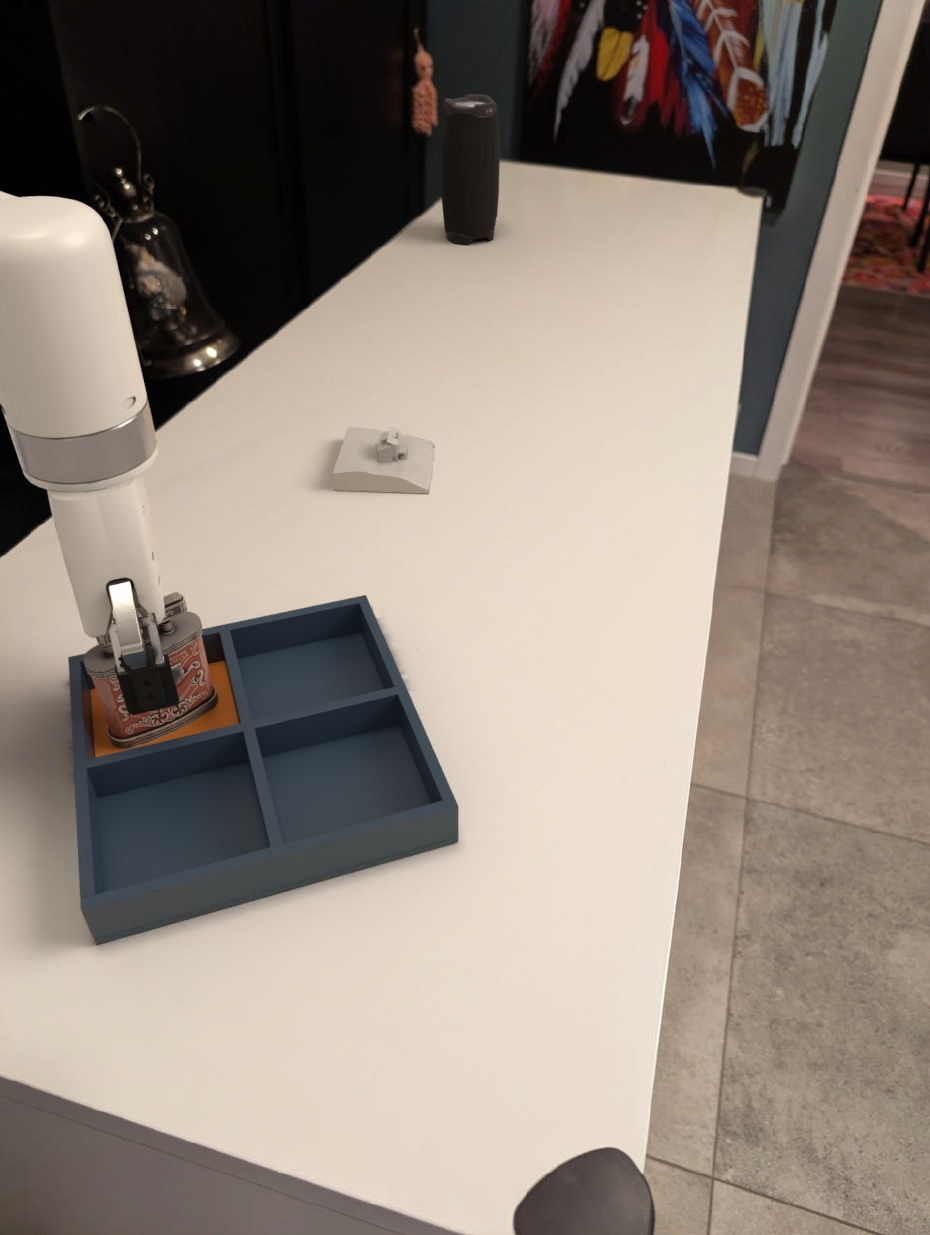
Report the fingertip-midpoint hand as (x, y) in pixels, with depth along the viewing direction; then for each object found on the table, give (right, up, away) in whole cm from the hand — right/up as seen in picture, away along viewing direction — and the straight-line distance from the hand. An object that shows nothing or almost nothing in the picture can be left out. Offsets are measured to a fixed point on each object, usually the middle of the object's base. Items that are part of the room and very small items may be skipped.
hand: (147, 659), depth 65 cm
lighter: (0, -5, +4) cm, 6 cm away
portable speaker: (+22, +63, +87) cm, 109 cm away
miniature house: (+14, +18, +32) cm, 40 cm away
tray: (+7, -7, +2) cm, 10 cm away
